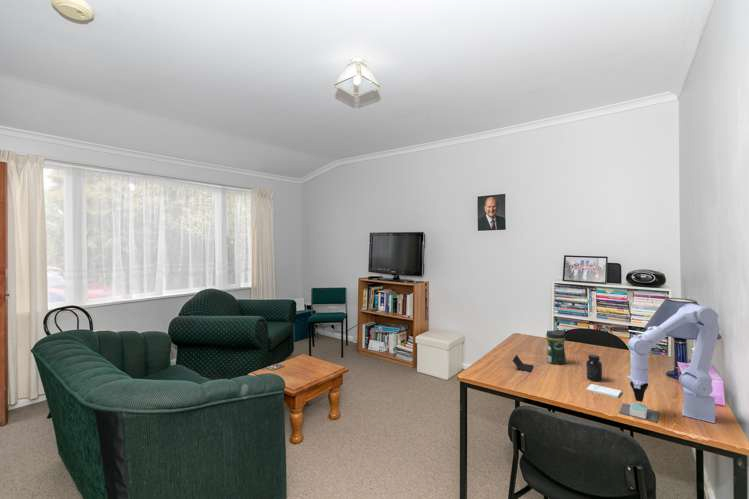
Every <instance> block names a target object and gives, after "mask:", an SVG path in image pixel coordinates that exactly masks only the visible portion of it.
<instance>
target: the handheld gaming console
mask: <svg viewBox="0 0 749 499" xmlns="http://www.w3.org/2000/svg"><path fill="white" fill-rule="evenodd" d="M512 363H514V364H515V366H516V367H517V369H518V371H519V370H521V371H520V372H524V371H527V372H526V373H531V372H532V370H533V368H534V364H528V363H524V362H522V360H521V359H520V357H519V356H518V355H517V354H516V355H515V356H514V357H513V359H512Z"/></svg>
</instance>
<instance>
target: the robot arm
mask: <svg viewBox="0 0 749 499" xmlns="http://www.w3.org/2000/svg"><path fill="white" fill-rule="evenodd" d="M718 319H719V314H718V313H717V312H716V310H715V309H713V308H712V307H709V306H704V305H701V304H700V305H699V304H695V303H691V302H689V303H686V304H684V305H683V306H682V307H679V308H678V310H677V312H676V313H674V314H673V315H671V316H670V317H669V318H667V319H666V320H665V321H664V322H662V323H661V324H660V325H658V326H657V325H656V326H655V325H652V326H648V327H647V329H646V330H645V331H644V332H642V333H640V334H637V336H632V337H630V339H629V340H628V342H626V345H627V347H628V349H629V351H630V353H629V354H630V355H629V357H630V359H629V361H630V362H629V363H630V366H629V367H630V369H629V370H630V375H627V376H626V378H627V379H629V380H630V383H629V385H630V387H631V389H632V392H633V394H634V399H635V401H636V402H639V403H643V401H644V398H645V392H646V390H647V389H648V387H649V363H648V362H649V354H650V353H651V351H652V348H653V347H654V346H655V345H657V344H659V343H660V342H661V341H663V340H664V339H666V337H667V333H669V332H671V331H672V330H674V329H676V328H678V327H680V326H681V325H683V324H686V323H690V324H691V323H693V324H695V326H696V327H697V328H698V334H697V336H696V337H697V338H696V342H695V345H694V350H693V354H692V356H691V361H690V364H689V366H688V367H686V368H684V370H683V373H682V374H680V376H679V378H678V382H679V384H680V385H681V386H682V390H683V394H682V395H683V396H682V397H683V399H682V400H683V402H682V403H683V406H682V410H681V416H683V417H686V418H690V419H695V420H699V421H704V422H707V423H708V422H709V423H712V424H715V423H716V417H717V412H716V399H715V398H716V397H714V396H711V395H712V393H713V384H712V383H713V378H712V377H711V375H710V373H709V371H710V367H711V363H712V360H713V355H714V351H715V348H716V344H717V339H718V337H719V333H720V325H719V321H718Z"/></svg>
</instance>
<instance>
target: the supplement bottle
mask: <svg viewBox="0 0 749 499" xmlns="http://www.w3.org/2000/svg"><path fill="white" fill-rule="evenodd" d="M587 357H588V360H586V361H585V362H586V379H587V380H589V381H591V382H597V383H598V382H602V381H603V363H602V361H600V360H601V359H600V356H599V355H597V354H588V356H587Z"/></svg>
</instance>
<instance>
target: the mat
mask: <svg viewBox="0 0 749 499" xmlns="http://www.w3.org/2000/svg"><path fill="white" fill-rule="evenodd" d="M630 407H631V404H628V403H625V402H623V403H622V404H621V408H620V410H619V411H618V413H619V414H620V415H625V416H629V417H632V418H637V419H641V420H644V421H648V422H653V423H655V422H656V423H658V419H659V414H660V411H659V410H654V409H649V408H647V415H646V419H644V418H640V417H636V416H632V415H630Z"/></svg>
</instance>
